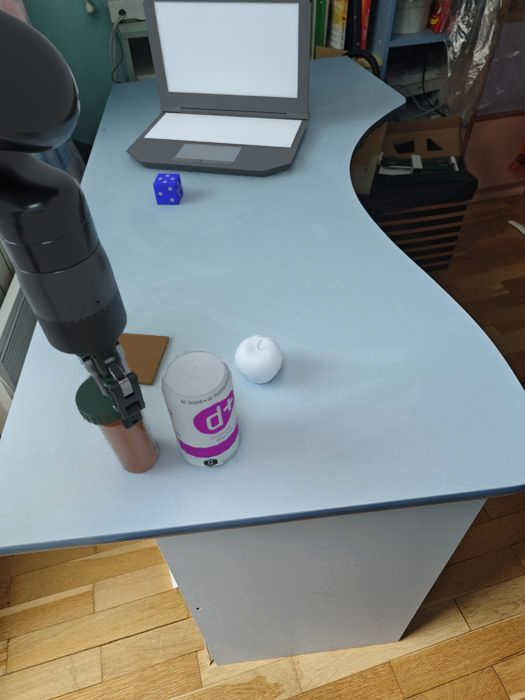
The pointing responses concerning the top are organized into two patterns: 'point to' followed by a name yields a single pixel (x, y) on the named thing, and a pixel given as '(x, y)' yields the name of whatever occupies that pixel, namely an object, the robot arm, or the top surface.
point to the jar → (132, 445)
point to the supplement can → (202, 407)
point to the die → (168, 188)
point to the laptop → (227, 85)
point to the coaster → (143, 354)
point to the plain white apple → (258, 358)
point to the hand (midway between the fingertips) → (120, 404)
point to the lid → (95, 403)
